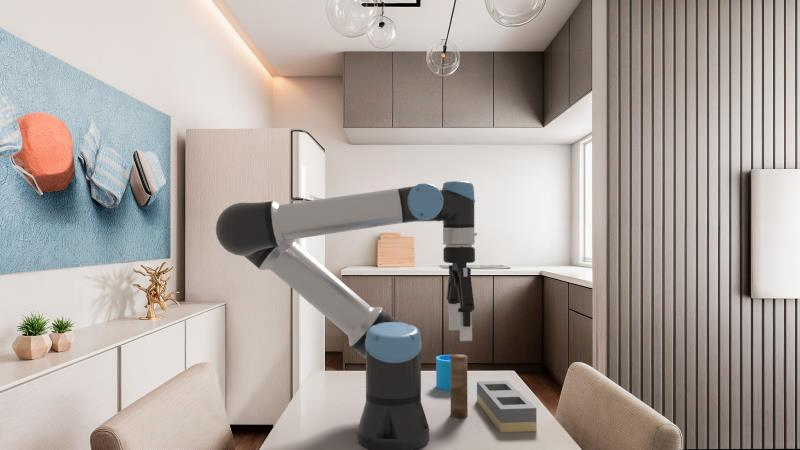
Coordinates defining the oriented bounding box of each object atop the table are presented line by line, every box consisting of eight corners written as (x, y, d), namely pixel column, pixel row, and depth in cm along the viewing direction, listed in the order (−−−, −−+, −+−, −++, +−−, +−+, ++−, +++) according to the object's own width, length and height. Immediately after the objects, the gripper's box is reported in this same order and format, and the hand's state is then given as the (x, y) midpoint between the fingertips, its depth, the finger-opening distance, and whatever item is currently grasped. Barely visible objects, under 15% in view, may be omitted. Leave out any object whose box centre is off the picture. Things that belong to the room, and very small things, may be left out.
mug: (467, 390, 146) (467, 361, 146) (438, 391, 146) (438, 361, 146) (460, 379, 158) (460, 351, 158) (433, 379, 158) (432, 352, 158)
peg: (458, 419, 123) (458, 358, 124) (447, 414, 127) (447, 355, 127) (471, 415, 126) (470, 356, 126) (459, 411, 129) (459, 353, 129)
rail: (536, 431, 116) (536, 408, 116) (500, 432, 115) (500, 409, 115) (507, 400, 138) (507, 380, 138) (476, 400, 137) (476, 381, 137)
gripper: (487, 247, 115) (488, 345, 114) (463, 245, 140) (464, 325, 139) (453, 247, 114) (454, 346, 114) (435, 245, 139) (436, 326, 139)
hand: (459, 335), depth 127 cm, fingers open, 13 cm apart
